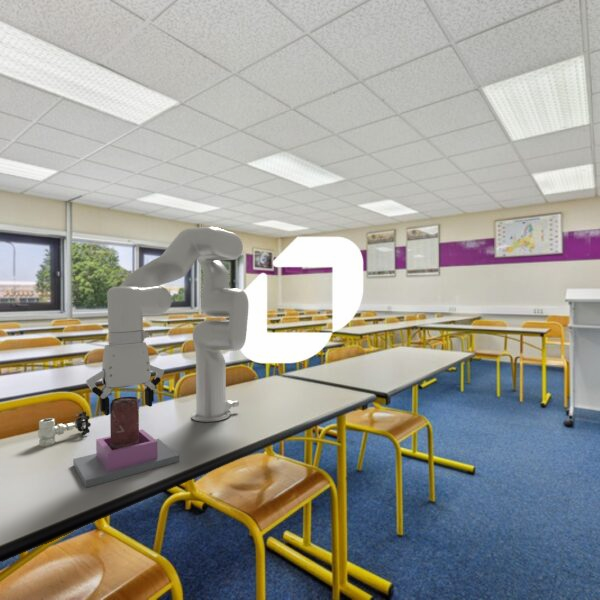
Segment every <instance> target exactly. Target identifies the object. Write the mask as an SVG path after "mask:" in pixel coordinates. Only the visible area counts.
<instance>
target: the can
mask: <svg viewBox="0 0 600 600" xmlns="http://www.w3.org/2000/svg"><path fill="white" fill-rule="evenodd" d="M139 409H140V404H139V400H138V398H137V397H135V396H124V397H123V396H122V397H117V398H114V399H112V400H111V403H109V412H110V414H109V417H110V419H109V420H110V425H109V426H110V436H111V449H112V450H115V449H119V448H124V447H128V446H132V445H136V444H139V430H140V419H139V417H140V415H139V413H140V410H139Z"/></svg>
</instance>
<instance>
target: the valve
mask: <svg viewBox="0 0 600 600" xmlns="http://www.w3.org/2000/svg"><path fill="white" fill-rule="evenodd" d="M89 420H90V415H87V412H86V411H82V412H81V413H78V418H76V419H75V423H73V422H69V423H66V424H63V422H61V423H57V424H56V419H55V418H53V417H48V418H44V419H43V418H42V419H40V420H39V421H38V431H37V436H38V439H39V440H38V441H39V442H38V443H39V444H38V446H39V447H49V446H52V445H54V444H55V443H56V435H58V436H61V435H63V434H64V433H65V432H66V431H72V430H73V429H74V428H75V429H77V431H78V432H81V435H87V434H89V433H90V429H89V428H90V427H91V426H92V423H91V422H90V421H89Z"/></svg>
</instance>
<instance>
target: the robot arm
mask: <svg viewBox="0 0 600 600" xmlns="http://www.w3.org/2000/svg"><path fill="white" fill-rule="evenodd" d="M243 248H244V247H243V241H242V239H241V238H240V236H239V235H238V234H236V233H234V232H232V231H229V230H225V229H221V228H219V227H214V226H206V227H205V226H203V227H202V226H201V227H190V228H189V227H188V228H185V229H183V230H182V231H180V232H179V234H177V236H176V237H175V238H174V239H173V241H172V242H171V243H170V245H169V246H168V247H166V249H165V250H164V252H163V253H162V254H161V255H160V256H158V257H157V258H155V259H152V260H151V261H149V262H147V263H145V264H144V265H142V266H140V267H138V268H137V269H136V270H134V271H132V272H131V273H130V274H129V275H128V276H127V278H125V280H124V281H123V282H122V283H121V284H120V285H119V286H111V287H110V288H109V289H108V290H107V293H106V294H107V295H106V296H107V301H106V302H107V326H108V327H107V328H108V334H107V335H108V344H105V345H104V347H103V348H104V349H103V355H102V364H101V365H102V367H101V371H99V372H97V373H96V374H95V375H93V376H91V377H90V378H88V379H87V380H86V381H85V384H86V385H87V386H88V387H89V389H90V390H91V392H92V393H93V394H95V395H96V396H98V397H99V408H100V412H102V413H103V414H104V415H105V416H110V398H109V397H108V395H109V394H110V393H111V391H112V390H113V389H121V388H128V387H134V386H139V385H144V386H146V387H145V389H144V404H145V405H146V406H148V407H150V408H151V407H153V402H154V401H155V399H154V398H155V397H154V395H155V393H154V392H155V391H154V390H155V389H156V387H157V386H158V384H159V383H160V382H161V381H162V380H161V379H162V378H163V375H164V374H165V370H164V369H162V368H159V367H157V366H154V365H151V364H150V363H151V361H150V355H149V351H148V346H147V342H145V339H146V338H149V337H150V332H149V331H145V329H144V324H143V323H144V320H143V319H144V318H143V316H159V315H163V314H164V313H166V312H167V311H168V310H169V309H170V308H171V306H172V303H173V298H172V294H171V292H170V291H169V290H168V289H167V288H166V287H164V286H161V285H165V284H169V283H172V282H174V281H178V280H179V279H182V278H184V277H186V276H187V274H189V273H188V272H189V271H190V270H191V268H193V265H194V264H195V262H197V261H198V263H199V266H200V267H201V269H202V273H203V280H202V289H201V291H202V292H201V300H200V310H201V312H202V314H203V315H204V316H206V317H210V318H228V320H226V321H225V320H224V321H223V320H203V321H201V322H199V323H197V324H196V325H195V326H194V328H193V330H192V342H193V346H194V351H195V391H196V395H195V396H196V398H195V399H196V400H195V401H196V403H195V405H196V407H195V408H196V410H195V411H193V412H192V413H191V419H192V420H193V421H195V422H199V423H200V422H202V423H211V422H218V421H223V420H226V419H228V418H229V417H230V416H231V410H230V409H231V408H236V407H239V404H240V401H239V400H234V401H232V400H227V398H226V397H227V392H226V391H227V389H226V386H227V384H226V381H227V380H226V375H227V374H226V371H227V369H226V367H227V365H226V360H225V357H224V355H223V353H222V352H221V351H226V352H227V351H228V352H229V351H230V352H231V351H232V352H233V351H234V352H235V351H239V350H242V349H243V347H244V345H245V342H246V339H247V331H248V318H249V299H248V296H247V293H246V292H245V291H244V290H243V289H240V288H230V287H229V285H230V283H229V282H230V273H229V272H228V271H229V270H228V269H227V268H226V266H225V265H224V264H223V262H222V261H234V260H237V259H238V258H240V257H241V255H242V254H243V250H244V249H243ZM152 372H154V373H155V376H154V377H153V378H152V380H151V377H152V376H151V374H152ZM100 380H101V382H102V385H103V386H102V387H101V389H100V388H98V386H97V385H96V383H97V382H99V381H100Z"/></svg>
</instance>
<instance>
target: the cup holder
mask: <svg viewBox="0 0 600 600" xmlns="http://www.w3.org/2000/svg"><path fill="white" fill-rule="evenodd" d="M95 441H96V442H95V444H96V447H95V448H96V452H95V453H92V454H88V455H85V456H80V457H76V458H73V459H72V460H73V461H72V463H73V465H72V466H73V468H74V469H75V471H76V473H77V474H78V476H79V478H80V479H81V482H82V483H83V485H84V487H85V489H86V488H90V487H94V486H97V485H102V484H104V483H107V482H111V481H115V480H118V479H122V478H126V477H128V476H132V475H136V474H139V473H142V472H143V473H144V472H147V471H150V470H154V469H157V468H159V467H160V468H161V467H163V466H167V465H172V464H176V463H178V462H180V454H178V453H177V452H176V451H174V450H173V449H172V448H171V447H169V446H168V445H167V444H166V443H164V442H163V441H162V440H160V438H154V437H153V436H151V435H150V434H149V433H148V432H146V431H145V430H144V429H142V428H141V429H139V444H136V445H132V446H128V447H124V448H119V449H115V450H112V449H111V435H110V436H106V437H102V438H96V439H95Z"/></svg>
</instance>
